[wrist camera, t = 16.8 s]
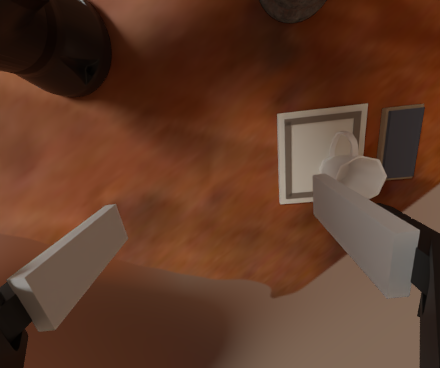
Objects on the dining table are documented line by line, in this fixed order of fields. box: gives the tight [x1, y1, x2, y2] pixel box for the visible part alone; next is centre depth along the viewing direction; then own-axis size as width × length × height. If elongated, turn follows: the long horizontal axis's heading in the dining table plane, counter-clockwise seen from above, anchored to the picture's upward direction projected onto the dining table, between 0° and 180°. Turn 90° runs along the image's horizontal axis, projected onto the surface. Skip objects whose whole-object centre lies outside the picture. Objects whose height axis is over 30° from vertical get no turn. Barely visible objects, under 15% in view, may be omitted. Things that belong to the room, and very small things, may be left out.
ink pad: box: [377, 104, 425, 180], centre depth 34 cm, size 12×6×2 cm, turn 6°
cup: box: [319, 131, 387, 199], centre depth 31 cm, size 7×10×8 cm
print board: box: [277, 103, 368, 204], centre depth 35 cm, size 16×14×1 cm
